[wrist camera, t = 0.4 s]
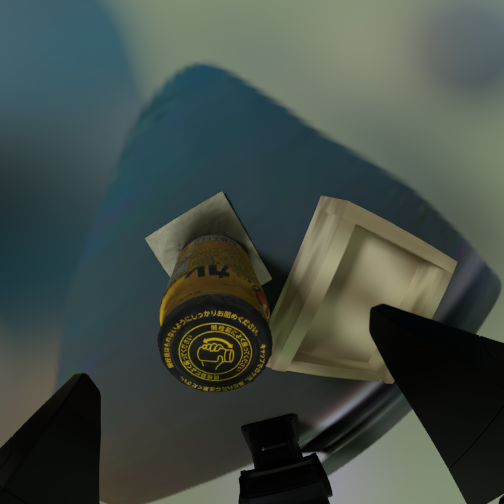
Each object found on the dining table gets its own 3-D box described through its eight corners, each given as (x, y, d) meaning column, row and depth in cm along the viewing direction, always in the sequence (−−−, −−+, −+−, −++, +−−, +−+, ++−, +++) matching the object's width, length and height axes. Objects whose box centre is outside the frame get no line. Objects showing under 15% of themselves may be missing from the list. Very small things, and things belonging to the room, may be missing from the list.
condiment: (199, 318, 24) (196, 421, 12) (145, 237, 21) (84, 298, 10) (271, 278, 24) (321, 362, 12) (221, 190, 21) (232, 204, 10)
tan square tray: (366, 366, 28) (386, 392, 24) (256, 346, 25) (266, 380, 21) (426, 248, 26) (457, 262, 21) (321, 195, 22) (348, 201, 18)
